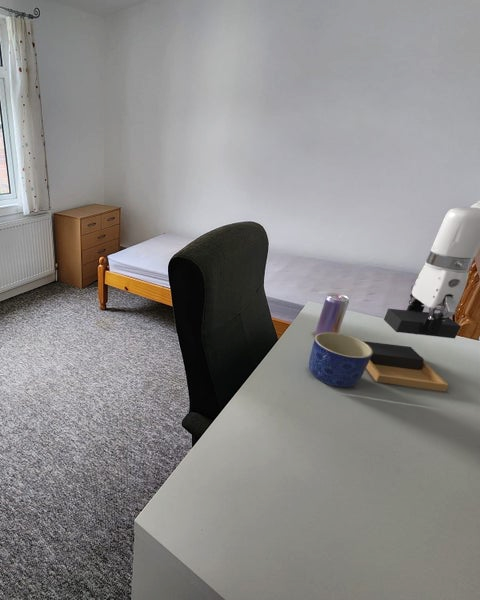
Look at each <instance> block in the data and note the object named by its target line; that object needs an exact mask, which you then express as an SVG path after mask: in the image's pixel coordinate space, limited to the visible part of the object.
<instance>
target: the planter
mask: <svg viewBox="0 0 480 600" xmlns="http://www.w3.org/2000/svg"><path fill="white" fill-rule="evenodd" d="M314 336H315V335H314ZM313 339H314V340H313V344H312V347H311V351H310V354H309V359H308V369H309V372H310V374H311V376H313V377H314V378H315V379H316V380H317V381H319V382H321V383H324V384H326V385H327V386H331V387H335V388H351V387H353V386H355V385H356V384H357V383H358V382H359V381H360V380H361V378H362V377H363V375H364V372H365V371H366V369H367V368H366V367H367V365H368V363H369V360H370V358H371V356H372V354H373V351H372V349H371V347H370V346H369V345H367V344H366V343H364V342H363V341H364V340H361V339H359V338H356V337H354V336H351V335H348V334H344V333H340V332H339V333H332V332H325V333H320V334H318V335H316V336H315V337H314V338H313Z"/></svg>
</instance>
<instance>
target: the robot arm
mask: <svg viewBox="0 0 480 600" xmlns="http://www.w3.org/2000/svg"><path fill="white" fill-rule="evenodd" d="M479 250H480V200H478V201H476V202H475V203H474V204H472V205H471V206H457V207H453V208H450V209H449V210H448V211H447V212H446V214H445V216H444V218H443V220H442V223H441V225H440V227H439V229H438V231H437V234H436V237H435V239H434V241H433V244H432V246H431V248H430V250H429V253H428V255H427V258H426V260H425V262H424V266H423V267H422V269H421V270H420V272H419V273H418V275H417V278H416V280H415V282H414V284H413V285H411V286H410V294H409V296H410V297H409V300H408V306H407V308H406V310H409V311H419V312H424V310H425V306H426V307H427V308H428V312H429V316H428V318H425V321H424V323H423V325H422V327H421V329H420V332H421V333H426V334H437V332H438V330H439V328H440V326H441V324H442V322H443V321H445V320H446V319H448V318H450V317H452V316H454V315H455V314H456V310H457V308H458V306H459V304H460V302H461V299H462V297H463V296H464V295H463V294H464V291H465V289H466V287H467V284H468V283H467V282H468V279H469V271H470V269H471V267H472V265H473V263H474V261H475V259H476V256H477V254H478V252H479ZM439 306H440V307H439ZM436 311H439V312H436ZM435 313H437V314H435Z"/></svg>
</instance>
